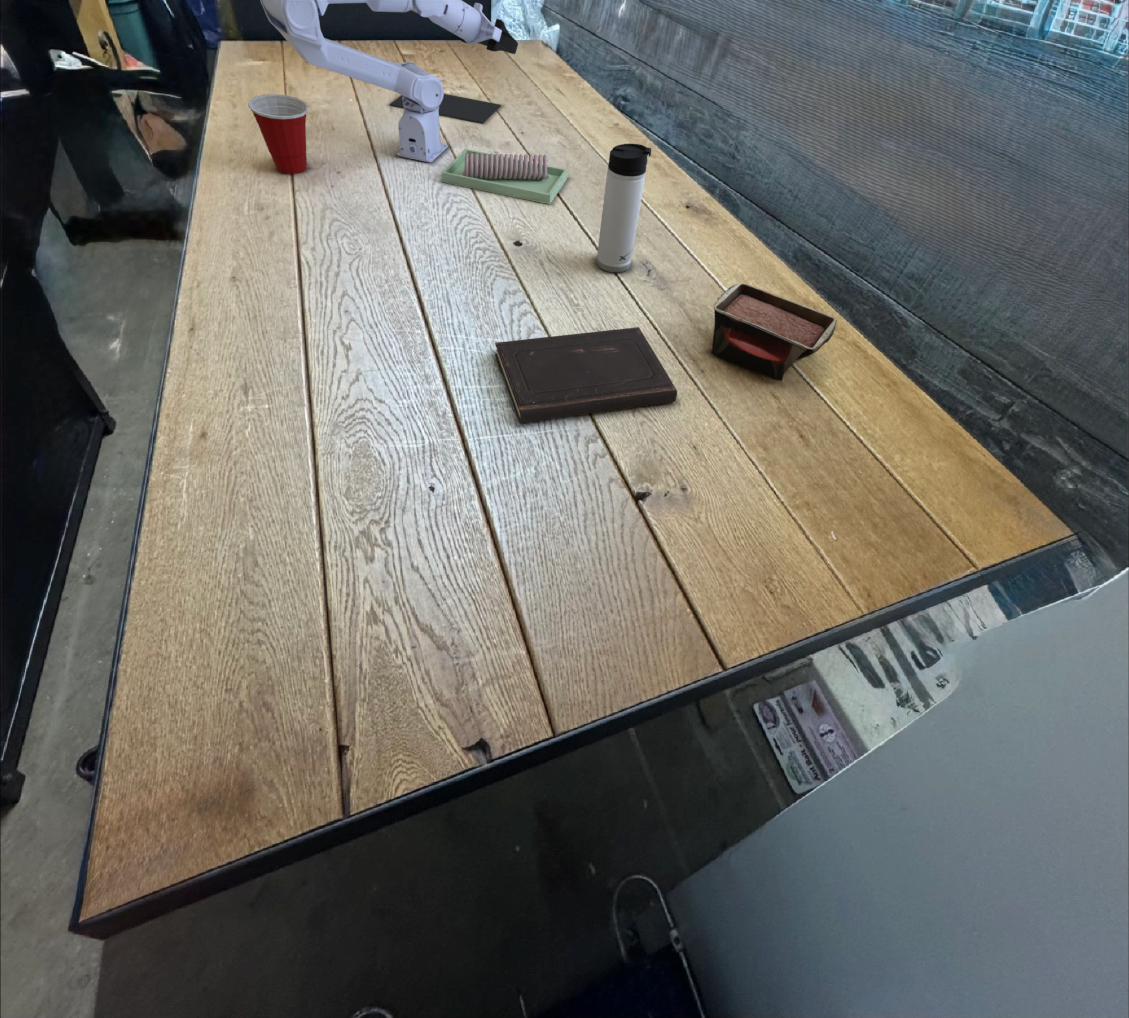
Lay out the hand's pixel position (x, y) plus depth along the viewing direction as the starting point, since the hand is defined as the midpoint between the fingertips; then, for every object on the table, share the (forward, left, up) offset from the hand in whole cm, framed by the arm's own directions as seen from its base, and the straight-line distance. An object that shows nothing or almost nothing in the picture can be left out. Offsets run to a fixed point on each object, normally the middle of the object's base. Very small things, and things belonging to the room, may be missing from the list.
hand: (504, 44), depth 140 cm
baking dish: (-65, -66, -18) cm, 94 cm away
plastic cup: (-38, +32, -18) cm, 53 cm away
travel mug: (-48, -38, -18) cm, 63 cm away
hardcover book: (-82, -41, -18) cm, 93 cm away
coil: (-24, -9, -17) cm, 30 cm away
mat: (+9, +18, -17) cm, 27 cm away
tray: (-24, -9, -17) cm, 31 cm away
